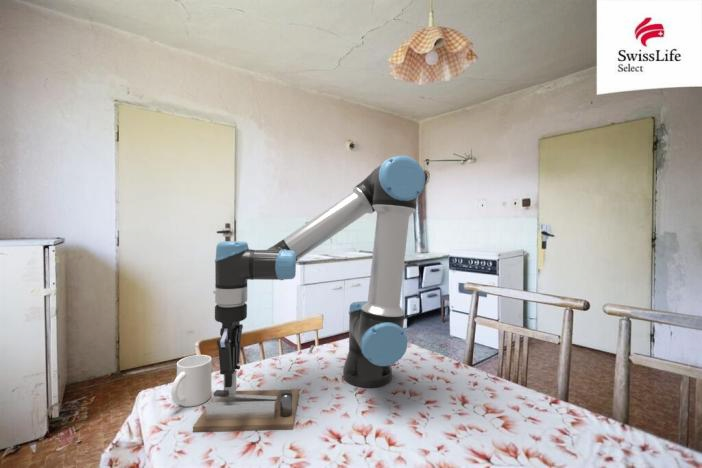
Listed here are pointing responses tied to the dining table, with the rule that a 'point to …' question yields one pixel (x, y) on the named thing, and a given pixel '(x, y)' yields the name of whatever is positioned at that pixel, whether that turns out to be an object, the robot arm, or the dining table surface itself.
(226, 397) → the light grey long bar
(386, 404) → the dining table surface
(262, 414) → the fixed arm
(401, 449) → the dining table surface
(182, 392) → the mug
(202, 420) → the board
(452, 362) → the dining table surface
